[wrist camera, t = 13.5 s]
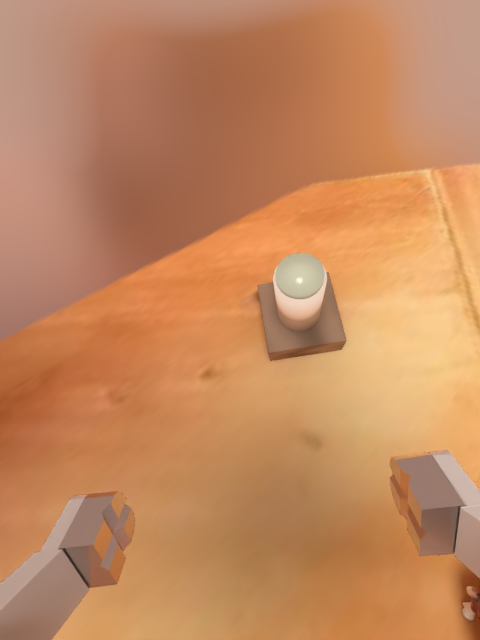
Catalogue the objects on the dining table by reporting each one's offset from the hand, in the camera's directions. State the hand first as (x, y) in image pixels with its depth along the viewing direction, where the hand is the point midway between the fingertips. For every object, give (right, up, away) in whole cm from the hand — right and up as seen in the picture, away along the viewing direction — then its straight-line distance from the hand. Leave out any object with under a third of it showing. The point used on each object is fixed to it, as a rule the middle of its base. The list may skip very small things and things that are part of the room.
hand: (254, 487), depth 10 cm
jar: (+7, +6, +29) cm, 30 cm away
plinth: (+7, +5, +32) cm, 33 cm away
